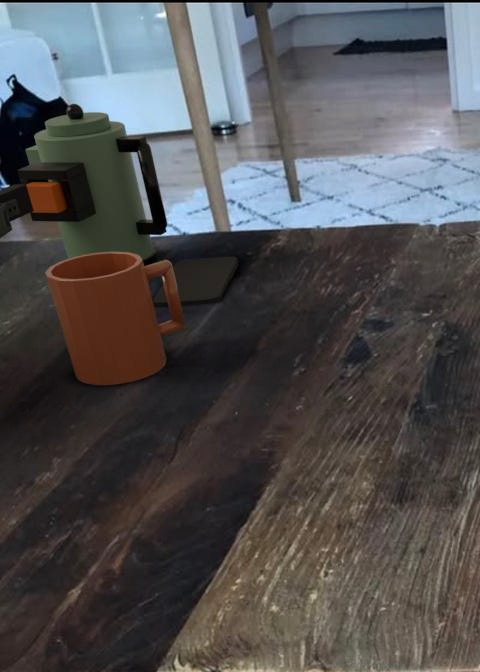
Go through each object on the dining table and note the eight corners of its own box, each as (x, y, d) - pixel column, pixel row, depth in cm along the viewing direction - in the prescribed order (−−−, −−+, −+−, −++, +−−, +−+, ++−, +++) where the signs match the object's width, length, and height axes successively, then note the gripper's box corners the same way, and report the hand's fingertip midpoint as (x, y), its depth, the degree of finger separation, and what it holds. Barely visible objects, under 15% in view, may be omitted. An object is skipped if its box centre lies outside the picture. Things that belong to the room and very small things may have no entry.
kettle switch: (31, 212, 123) (23, 185, 122) (40, 208, 125) (33, 181, 123) (58, 213, 122) (51, 186, 121) (68, 208, 124) (60, 181, 122)
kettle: (20, 285, 131) (-30, 120, 120) (87, 250, 141) (45, 95, 131) (138, 289, 127) (96, 119, 116) (197, 253, 137) (164, 93, 126)
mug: (108, 397, 101) (77, 286, 95) (60, 377, 106) (28, 270, 100) (215, 355, 108) (192, 249, 102) (165, 338, 113) (141, 236, 107)
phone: (149, 303, 120) (176, 260, 132) (151, 311, 120) (178, 267, 132) (218, 298, 119) (239, 255, 131) (220, 306, 120) (240, 262, 132)
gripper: (-173, 303, 106) (-15, 232, 124) (-61, 308, 102) (85, 235, 120) (-207, 221, 101) (-38, 160, 119) (-91, 223, 98) (65, 160, 115)
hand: (24, 197), depth 119 cm, fingers closed
